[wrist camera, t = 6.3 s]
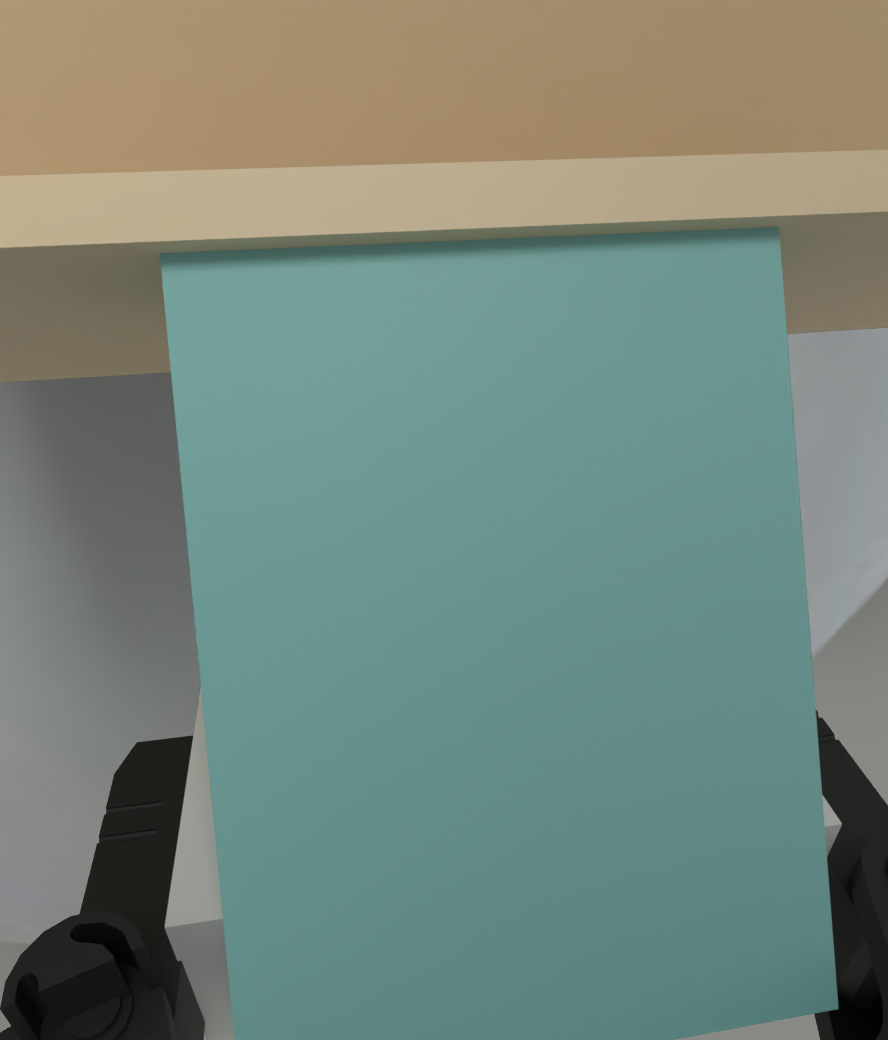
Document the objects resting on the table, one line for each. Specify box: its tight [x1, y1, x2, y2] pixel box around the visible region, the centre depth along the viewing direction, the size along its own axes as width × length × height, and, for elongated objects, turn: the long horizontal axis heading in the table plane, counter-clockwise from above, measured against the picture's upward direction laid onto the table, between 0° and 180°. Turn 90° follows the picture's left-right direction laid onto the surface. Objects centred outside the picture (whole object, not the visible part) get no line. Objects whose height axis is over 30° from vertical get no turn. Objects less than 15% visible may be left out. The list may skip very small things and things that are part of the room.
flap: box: [0, 150, 888, 1040], centre depth 10 cm, size 6×17×9 cm
